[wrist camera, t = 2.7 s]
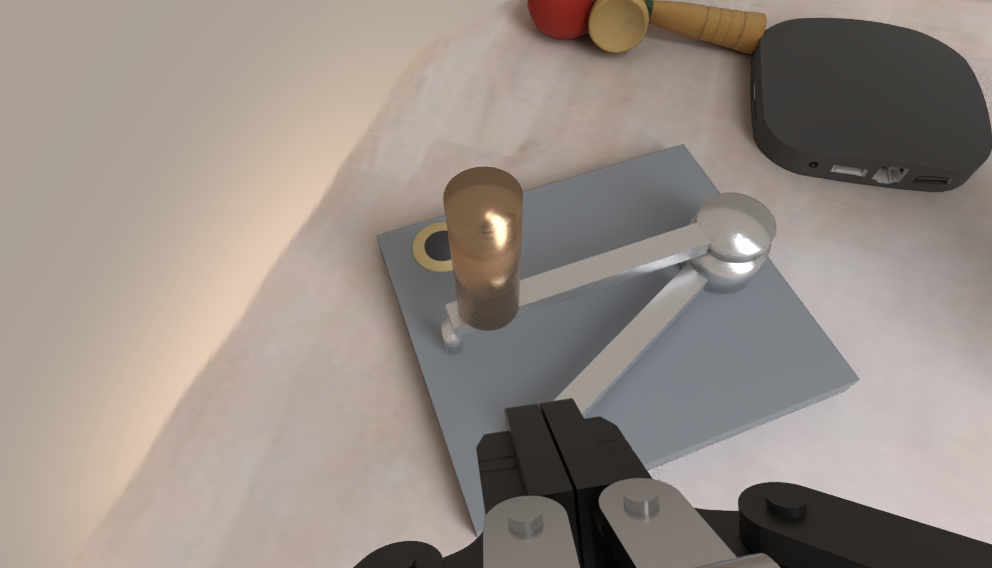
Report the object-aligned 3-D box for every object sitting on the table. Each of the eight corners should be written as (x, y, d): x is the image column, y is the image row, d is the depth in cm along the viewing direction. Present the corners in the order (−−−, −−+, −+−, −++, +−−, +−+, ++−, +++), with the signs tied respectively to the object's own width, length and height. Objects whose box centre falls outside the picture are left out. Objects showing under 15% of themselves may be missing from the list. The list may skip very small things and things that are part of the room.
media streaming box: (940, 61, 47) (964, 26, 45) (981, 204, 40) (1013, 173, 37) (747, 40, 49) (760, 6, 47) (750, 173, 41) (766, 141, 39)
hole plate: (677, 160, 42) (683, 142, 40) (846, 390, 33) (861, 378, 31) (380, 250, 38) (376, 234, 37) (477, 538, 29) (475, 531, 28)
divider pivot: (710, 219, 37) (722, 192, 35) (770, 265, 35) (787, 239, 33) (473, 411, 31) (471, 392, 29) (532, 478, 29) (534, 464, 27)
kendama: (739, 28, 52) (531, -18, 51) (778, -34, 46) (544, -87, 45) (734, 102, 49) (515, 53, 48) (775, 45, 43) (526, -10, 43)
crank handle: (730, 220, 36) (810, 62, 27) (769, 272, 34) (869, 122, 25) (434, 317, 33) (404, 177, 23) (457, 382, 31) (435, 256, 21)
